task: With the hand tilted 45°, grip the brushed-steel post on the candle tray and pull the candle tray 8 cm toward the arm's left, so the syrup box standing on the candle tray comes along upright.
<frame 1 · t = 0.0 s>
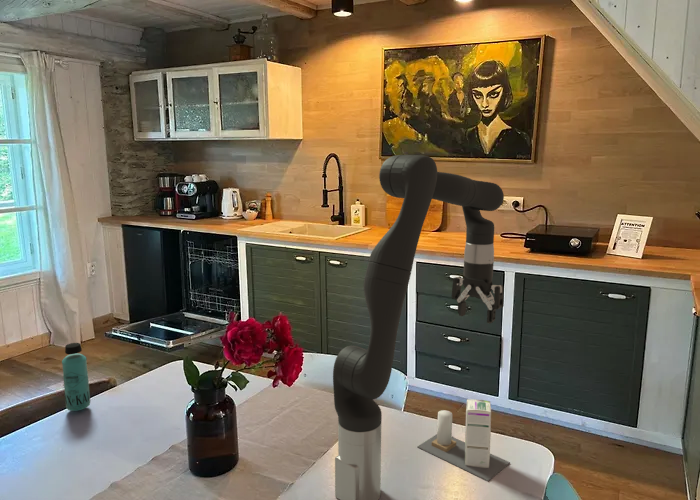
hand: (475, 319, 146), 29 cm above the table, tool pointing down, fingers open, 8 cm apart
candle tray: (463, 438, 133), point 5 cm above the table, slide at 0.2 cm, touching syrup box
syrup box: (476, 461, 132), resting on candle tray
beverage bottle: (79, 411, 156), on the table
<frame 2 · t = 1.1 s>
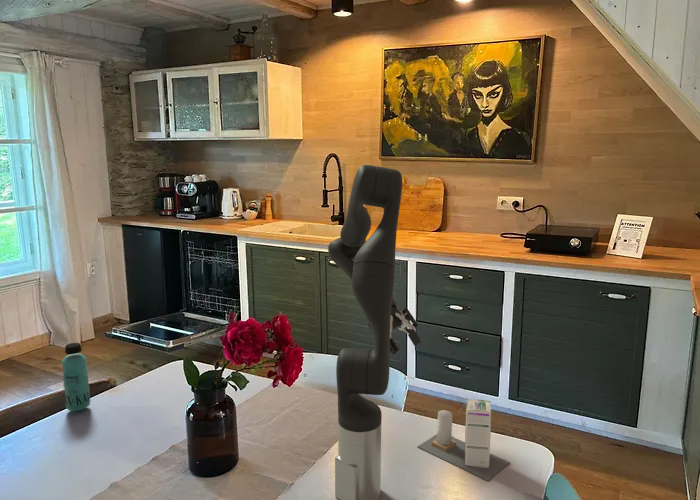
hand: (407, 348, 142), 23 cm above the table, tool tilted 45°, fingers open, 8 cm apart
nothing on the table moved.
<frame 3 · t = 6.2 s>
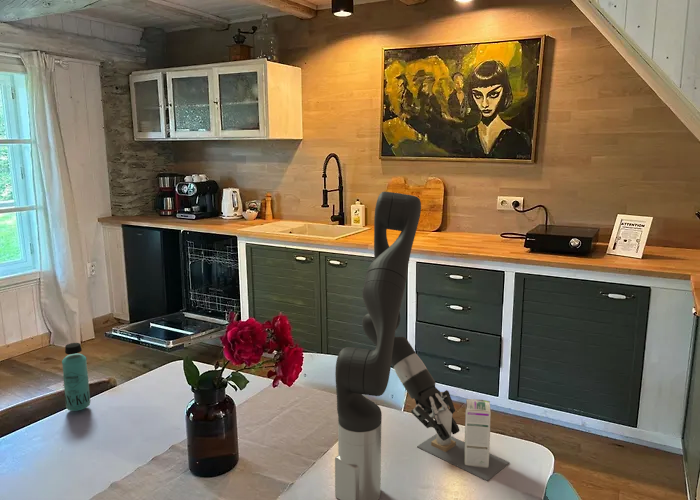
hand: (451, 435, 136), 4 cm above the table, tool tilted 45°, fingers closed on candle tray, 3 cm apart
candle tray: (462, 438, 133), point 5 cm above the table, slide at 0.3 cm, touching gripper, syrup box
everything else where it was.
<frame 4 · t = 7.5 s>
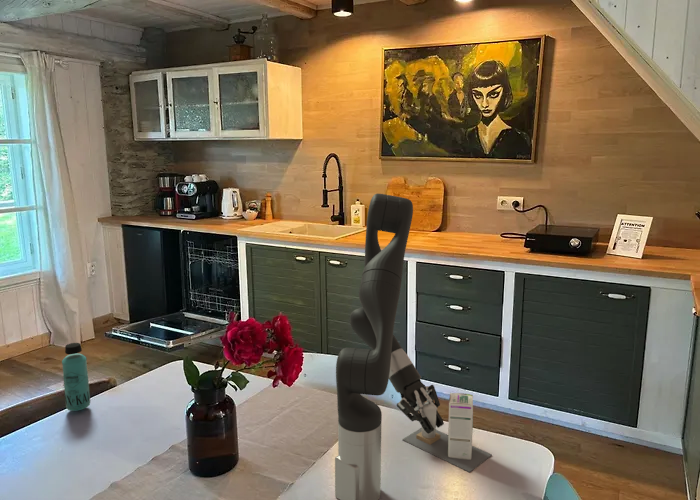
hand: (436, 428, 139), 4 cm above the table, tool tilted 45°, fingers closed on candle tray, 3 cm apart
candle tray: (446, 431, 137), point 5 cm above the table, slide at 5.0 cm, touching gripper, syrup box
syrup box: (459, 453, 135), resting on candle tray
everything else where it was.
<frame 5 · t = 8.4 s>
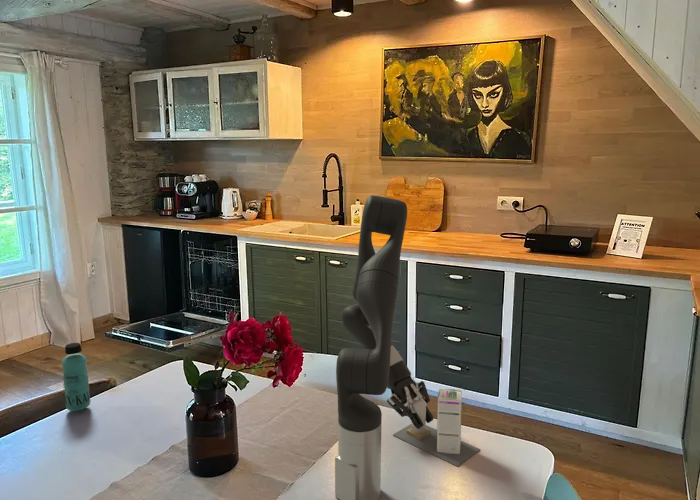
hand: (425, 424, 141), 4 cm above the table, tool tilted 45°, fingers closed on candle tray, 3 cm apart
candle tray: (436, 426, 139), point 5 cm above the table, slide at 8.3 cm, touching gripper, syrup box
syrup box: (448, 448, 137), resting on candle tray
everything else where it was.
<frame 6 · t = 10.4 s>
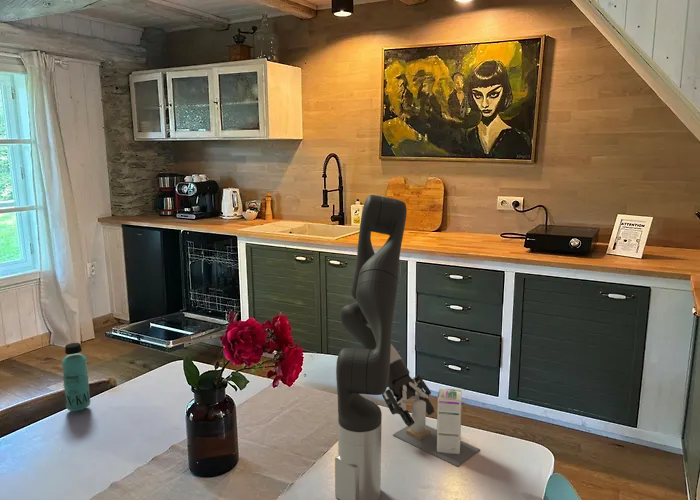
hand: (422, 419, 142), 5 cm above the table, tool tilted 45°, fingers open, 8 cm apart
candle tray: (435, 426, 139), point 5 cm above the table, slide at 8.3 cm, touching syrup box
everything else where it was.
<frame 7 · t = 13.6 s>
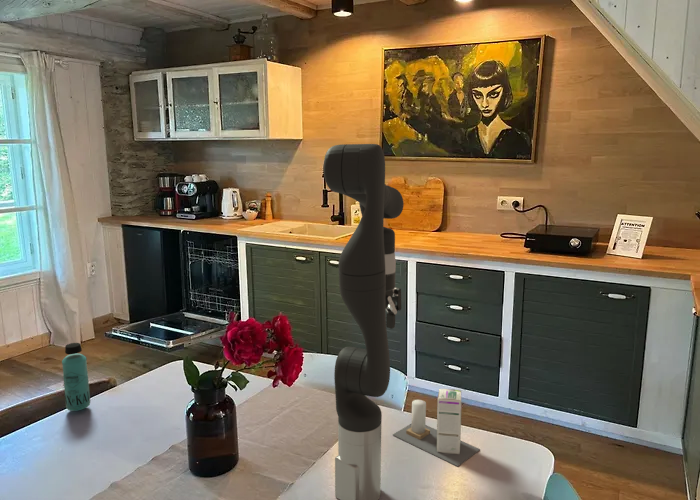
hand: (379, 331, 139), 28 cm above the table, tool pointing down, fingers open, 8 cm apart
nothing on the table moved.
at the end: candle tray slide at 8.3 cm; syrup box inside the target area (0.4 cm from its centre), resting on candle tray; syrup box tilted 0° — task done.
